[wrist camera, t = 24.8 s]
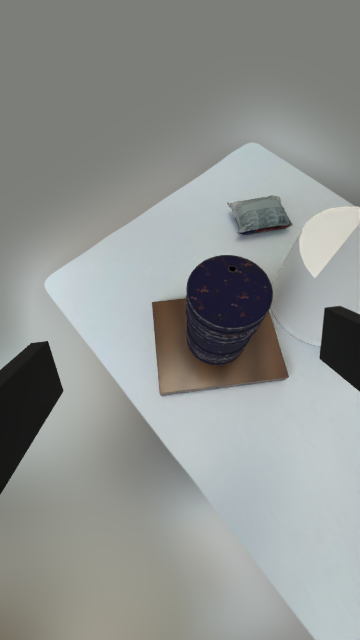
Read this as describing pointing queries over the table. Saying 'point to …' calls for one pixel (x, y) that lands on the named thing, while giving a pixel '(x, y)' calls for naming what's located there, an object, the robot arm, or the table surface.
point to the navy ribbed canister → (225, 307)
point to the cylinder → (319, 273)
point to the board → (194, 375)
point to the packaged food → (260, 215)
